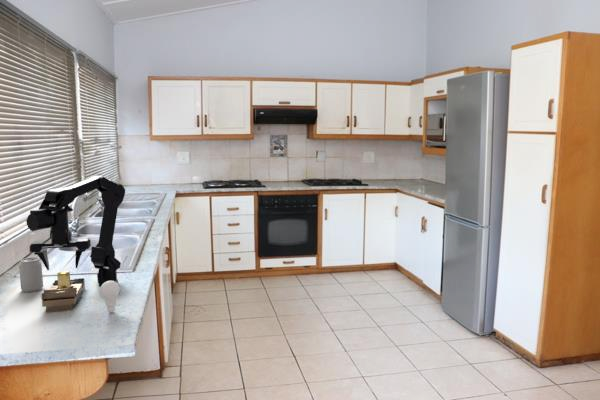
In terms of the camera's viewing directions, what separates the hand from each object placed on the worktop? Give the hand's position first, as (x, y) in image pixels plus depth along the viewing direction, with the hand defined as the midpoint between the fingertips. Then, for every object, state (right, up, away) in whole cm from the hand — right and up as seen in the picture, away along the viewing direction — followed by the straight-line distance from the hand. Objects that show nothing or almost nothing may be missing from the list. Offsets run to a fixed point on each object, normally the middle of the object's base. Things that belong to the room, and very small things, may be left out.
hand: (62, 268), depth 176 cm
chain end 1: (+1, -12, -1) cm, 12 cm away
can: (-17, -10, +13) cm, 24 cm away
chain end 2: (-1, -11, +5) cm, 12 cm away
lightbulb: (+21, -13, -10) cm, 27 cm away
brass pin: (0, -11, +2) cm, 12 cm away
